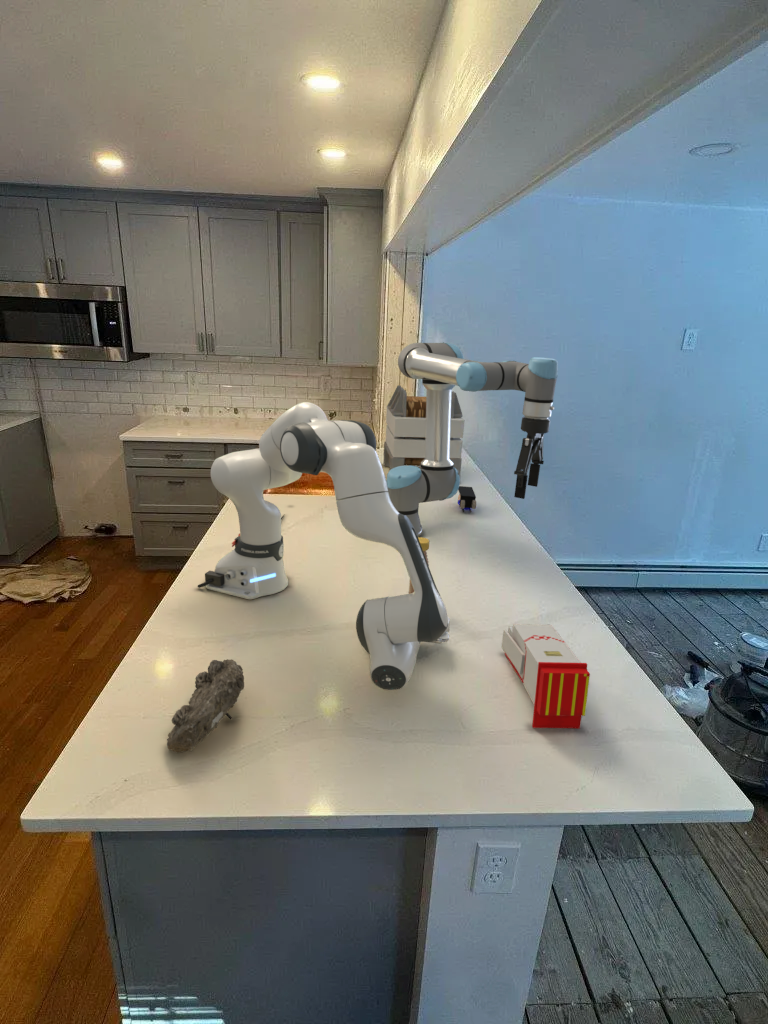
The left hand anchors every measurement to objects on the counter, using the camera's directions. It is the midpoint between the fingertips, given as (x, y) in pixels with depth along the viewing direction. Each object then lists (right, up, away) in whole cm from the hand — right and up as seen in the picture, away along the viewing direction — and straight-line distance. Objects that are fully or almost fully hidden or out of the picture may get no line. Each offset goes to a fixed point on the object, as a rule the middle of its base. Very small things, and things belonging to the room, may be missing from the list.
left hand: (410, 606), depth 139 cm
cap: (+3, +16, +7) cm, 18 cm away
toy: (+26, -14, -18) cm, 34 cm away
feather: (-44, +21, +70) cm, 85 cm away
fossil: (-39, -16, -31) cm, 53 cm away
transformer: (+11, +42, +136) cm, 142 cm away
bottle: (+2, -2, +13) cm, 14 cm away
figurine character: (+26, +25, +89) cm, 96 cm away
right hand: (+34, +29, +22) cm, 49 cm away
